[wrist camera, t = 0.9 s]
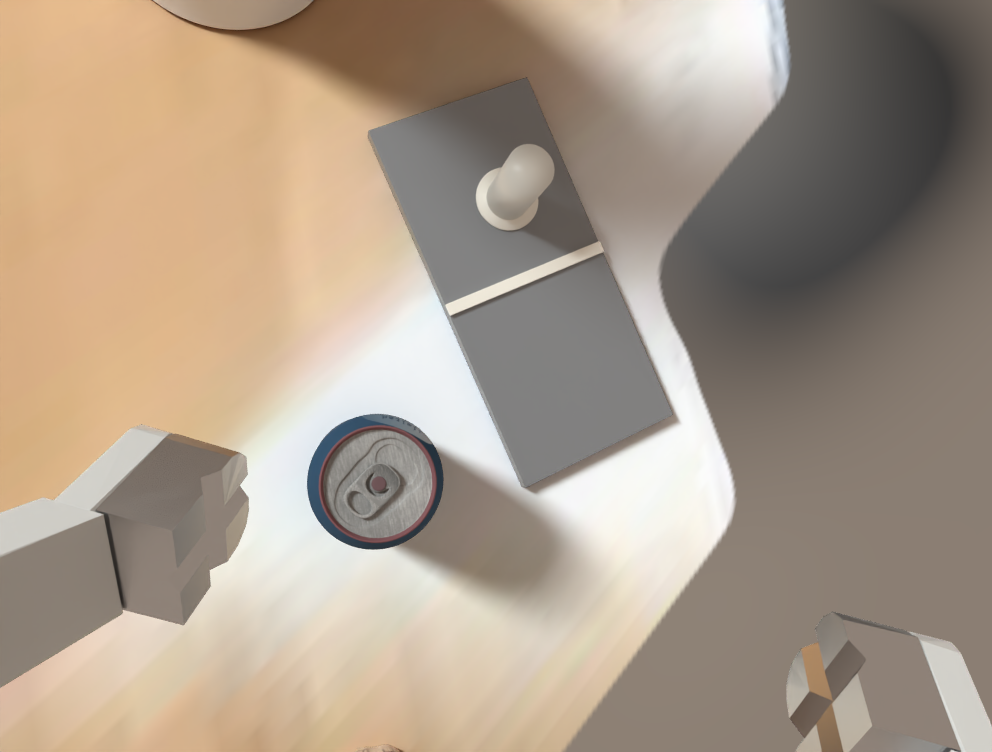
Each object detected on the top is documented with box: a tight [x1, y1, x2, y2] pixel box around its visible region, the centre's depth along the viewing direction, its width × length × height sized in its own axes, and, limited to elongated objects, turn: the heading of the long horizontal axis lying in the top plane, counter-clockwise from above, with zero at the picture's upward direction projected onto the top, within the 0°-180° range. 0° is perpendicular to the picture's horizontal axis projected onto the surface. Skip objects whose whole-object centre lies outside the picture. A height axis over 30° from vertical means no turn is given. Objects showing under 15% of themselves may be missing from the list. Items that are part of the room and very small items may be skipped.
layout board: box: [368, 77, 673, 488], centre depth 46 cm, size 26×12×7 cm, turn 24°
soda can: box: [307, 414, 443, 549], centre depth 40 cm, size 7×7×12 cm
